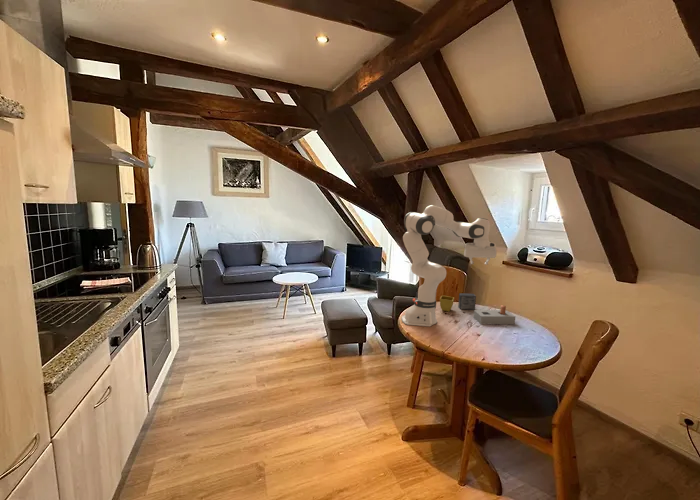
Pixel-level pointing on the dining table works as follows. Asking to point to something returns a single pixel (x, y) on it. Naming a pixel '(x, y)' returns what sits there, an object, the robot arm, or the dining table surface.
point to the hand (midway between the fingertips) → (479, 264)
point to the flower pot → (446, 303)
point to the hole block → (493, 317)
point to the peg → (502, 310)
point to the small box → (467, 301)
